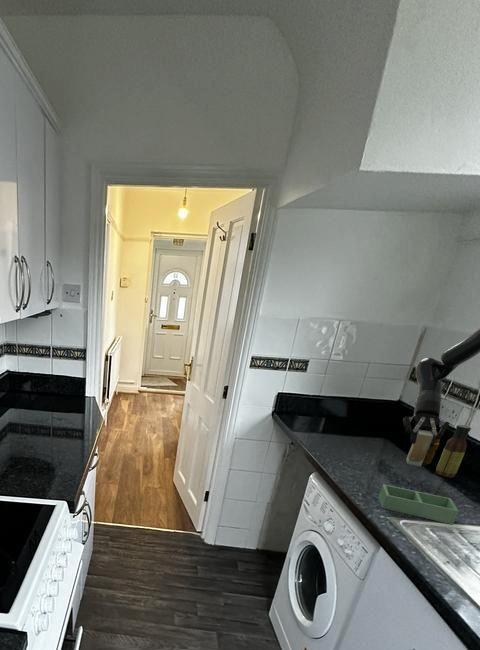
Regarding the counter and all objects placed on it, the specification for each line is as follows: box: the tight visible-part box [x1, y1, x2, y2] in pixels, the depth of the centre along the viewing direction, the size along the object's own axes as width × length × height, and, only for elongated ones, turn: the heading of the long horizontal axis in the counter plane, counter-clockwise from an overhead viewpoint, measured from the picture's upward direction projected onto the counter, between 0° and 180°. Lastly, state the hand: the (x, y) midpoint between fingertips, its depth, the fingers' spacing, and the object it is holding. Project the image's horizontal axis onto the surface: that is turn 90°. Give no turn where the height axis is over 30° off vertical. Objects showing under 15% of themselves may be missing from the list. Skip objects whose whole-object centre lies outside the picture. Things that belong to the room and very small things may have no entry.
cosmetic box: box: [406, 429, 433, 468], centre depth 153 cm, size 6×4×12 cm
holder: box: [378, 483, 460, 525], centre depth 131 cm, size 18×10×5 cm, turn 63°
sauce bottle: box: [435, 424, 472, 479], centre depth 156 cm, size 7×6×20 cm
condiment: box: [405, 436, 442, 465], centre depth 169 cm, size 7×8×12 cm
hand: (422, 444), depth 151 cm, fingers closed on cosmetic box, 4 cm apart
